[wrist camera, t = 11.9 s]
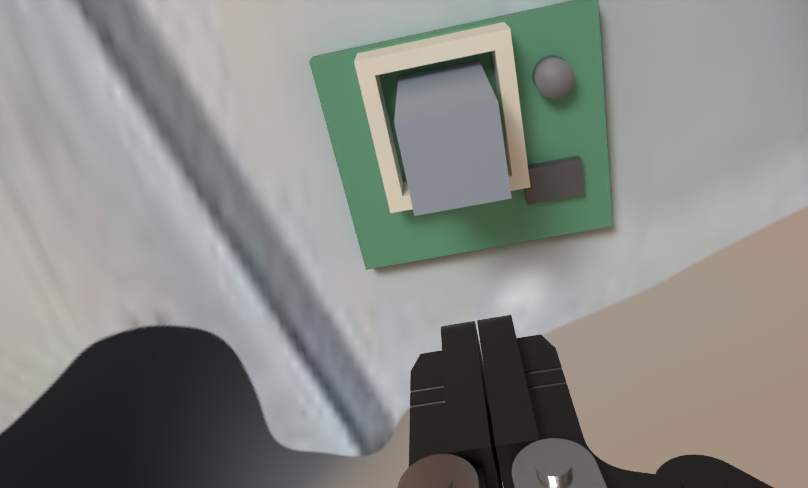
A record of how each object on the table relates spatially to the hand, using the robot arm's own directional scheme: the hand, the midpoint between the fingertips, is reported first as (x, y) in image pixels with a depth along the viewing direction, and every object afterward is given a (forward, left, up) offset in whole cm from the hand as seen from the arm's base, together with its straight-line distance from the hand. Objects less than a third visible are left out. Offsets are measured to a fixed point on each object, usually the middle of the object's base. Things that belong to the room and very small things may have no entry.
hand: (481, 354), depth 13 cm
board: (-1, +3, -22) cm, 22 cm away
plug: (0, 0, -21) cm, 21 cm away
